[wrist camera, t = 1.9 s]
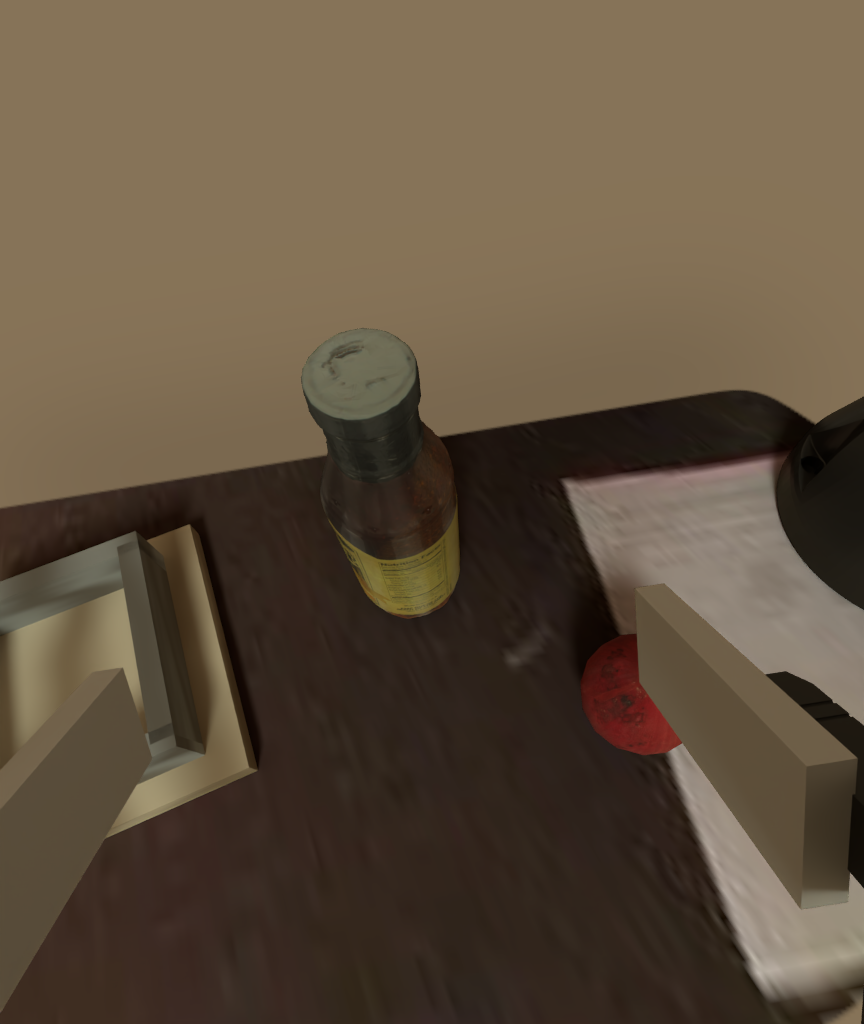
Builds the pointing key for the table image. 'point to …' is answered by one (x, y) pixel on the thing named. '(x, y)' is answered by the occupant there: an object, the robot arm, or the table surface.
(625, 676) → the onion
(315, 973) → the table surface
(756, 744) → the robot arm
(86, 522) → the table surface
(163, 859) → the table surface
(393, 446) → the sauce bottle
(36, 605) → the bottle holder
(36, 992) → the table surface
